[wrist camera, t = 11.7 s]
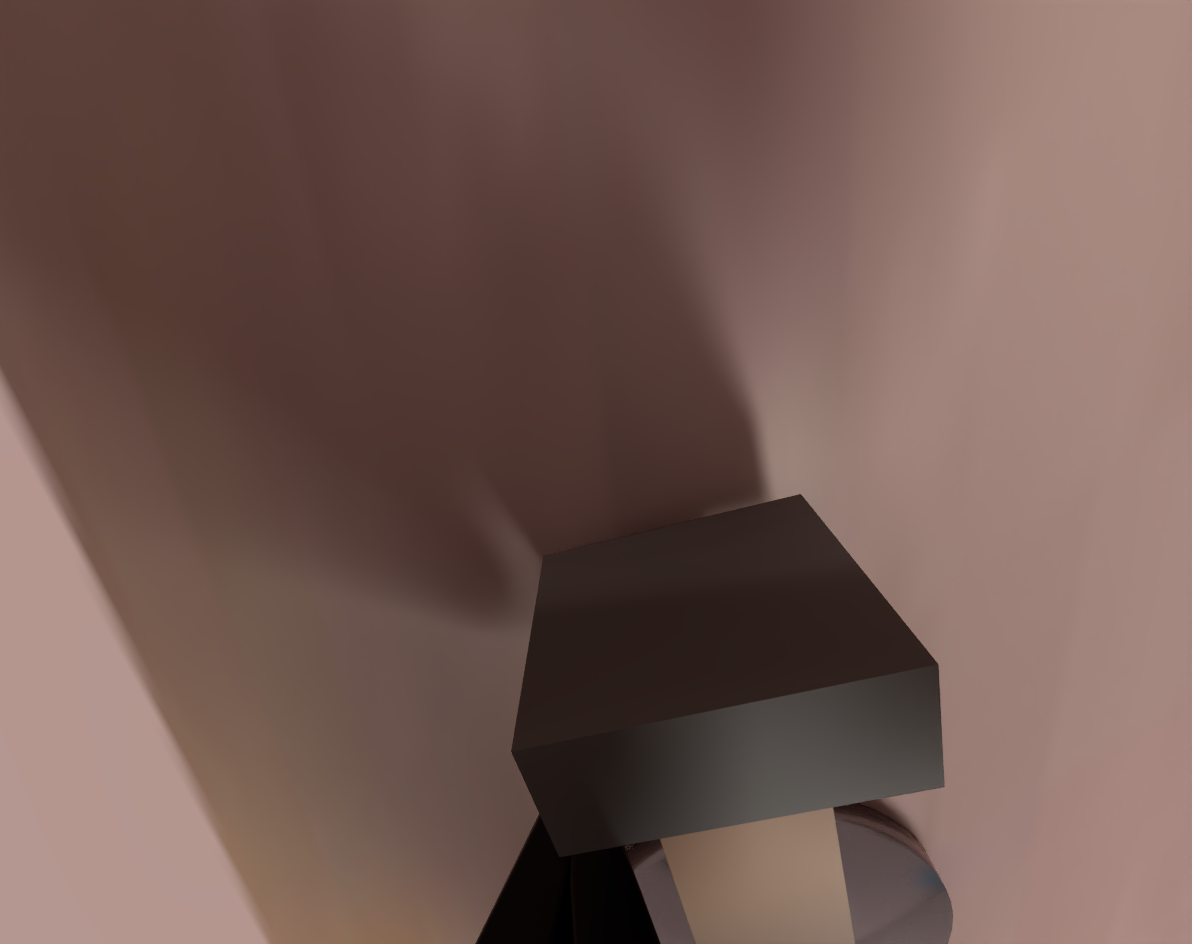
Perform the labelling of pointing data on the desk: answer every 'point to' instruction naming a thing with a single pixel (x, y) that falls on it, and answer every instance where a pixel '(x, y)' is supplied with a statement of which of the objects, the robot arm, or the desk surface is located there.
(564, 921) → the robot arm
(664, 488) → the desk surface
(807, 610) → the crank lever
